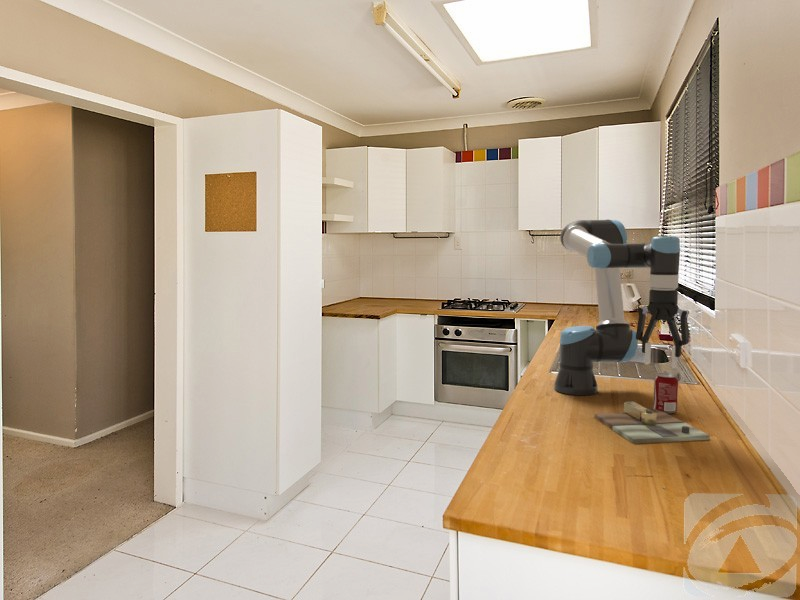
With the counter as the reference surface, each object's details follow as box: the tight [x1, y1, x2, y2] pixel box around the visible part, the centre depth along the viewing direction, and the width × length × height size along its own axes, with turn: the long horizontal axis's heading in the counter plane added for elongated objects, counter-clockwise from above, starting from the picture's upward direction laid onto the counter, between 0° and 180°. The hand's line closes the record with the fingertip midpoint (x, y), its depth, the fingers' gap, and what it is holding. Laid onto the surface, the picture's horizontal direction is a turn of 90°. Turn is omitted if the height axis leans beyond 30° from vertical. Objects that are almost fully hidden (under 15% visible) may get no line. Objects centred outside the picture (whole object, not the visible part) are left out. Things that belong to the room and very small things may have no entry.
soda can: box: [652, 372, 679, 415], centre depth 169 cm, size 7×7×12 cm
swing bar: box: [623, 401, 657, 425], centre depth 159 cm, size 13×4×4 cm, turn 6°
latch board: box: [594, 410, 711, 444], centre depth 154 cm, size 22×22×3 cm
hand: (660, 365), depth 159 cm, fingers open, 7 cm apart
